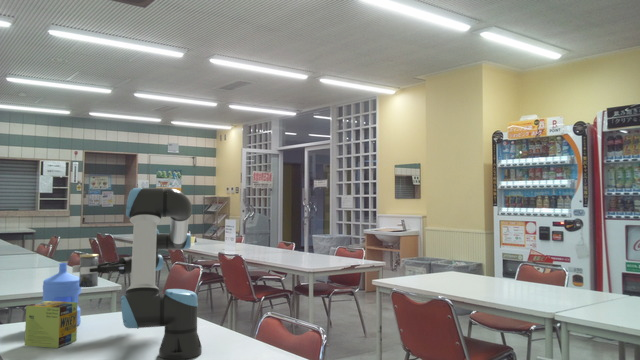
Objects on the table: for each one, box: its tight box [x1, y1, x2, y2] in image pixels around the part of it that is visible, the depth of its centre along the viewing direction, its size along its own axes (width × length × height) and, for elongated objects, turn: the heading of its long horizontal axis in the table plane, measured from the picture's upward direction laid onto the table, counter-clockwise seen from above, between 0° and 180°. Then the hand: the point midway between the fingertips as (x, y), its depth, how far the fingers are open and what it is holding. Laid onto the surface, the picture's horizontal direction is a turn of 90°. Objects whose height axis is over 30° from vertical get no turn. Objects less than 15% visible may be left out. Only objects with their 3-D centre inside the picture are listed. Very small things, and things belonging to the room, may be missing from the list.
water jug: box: [42, 262, 82, 327], centre depth 223 cm, size 16×16×28 cm
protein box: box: [24, 301, 79, 349], centre depth 195 cm, size 10×15×16 cm
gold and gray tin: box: [78, 253, 100, 288], centre depth 207 cm, size 7×7×13 cm
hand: (76, 270), depth 203 cm, fingers closed on gold and gray tin, 7 cm apart
